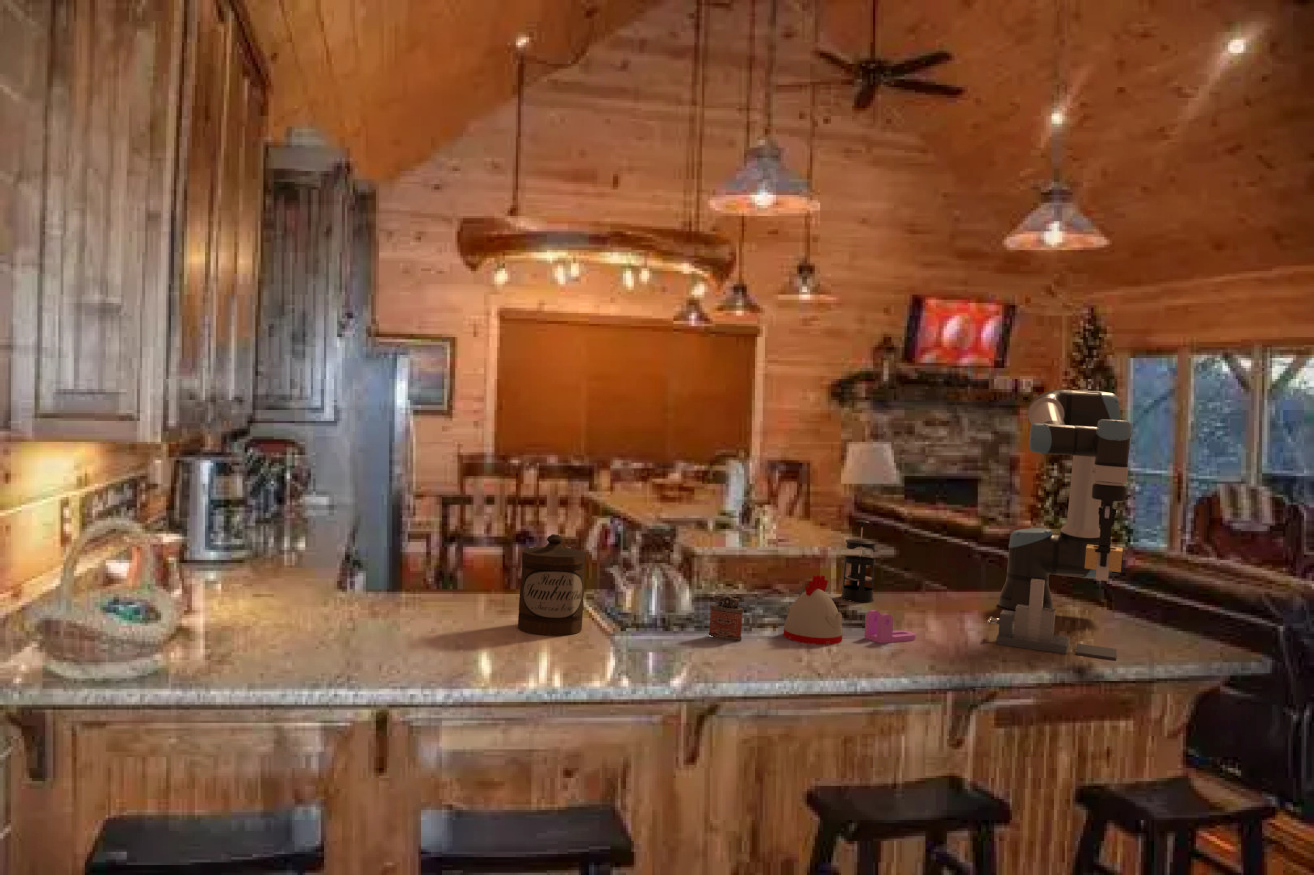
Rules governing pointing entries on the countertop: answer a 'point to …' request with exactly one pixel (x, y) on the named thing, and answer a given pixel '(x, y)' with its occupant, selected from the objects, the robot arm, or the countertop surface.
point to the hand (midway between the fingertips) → (1102, 577)
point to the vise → (1030, 624)
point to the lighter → (726, 619)
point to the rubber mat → (1096, 651)
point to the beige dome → (814, 616)
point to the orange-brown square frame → (1114, 558)
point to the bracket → (884, 629)
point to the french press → (858, 563)
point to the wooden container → (551, 589)
